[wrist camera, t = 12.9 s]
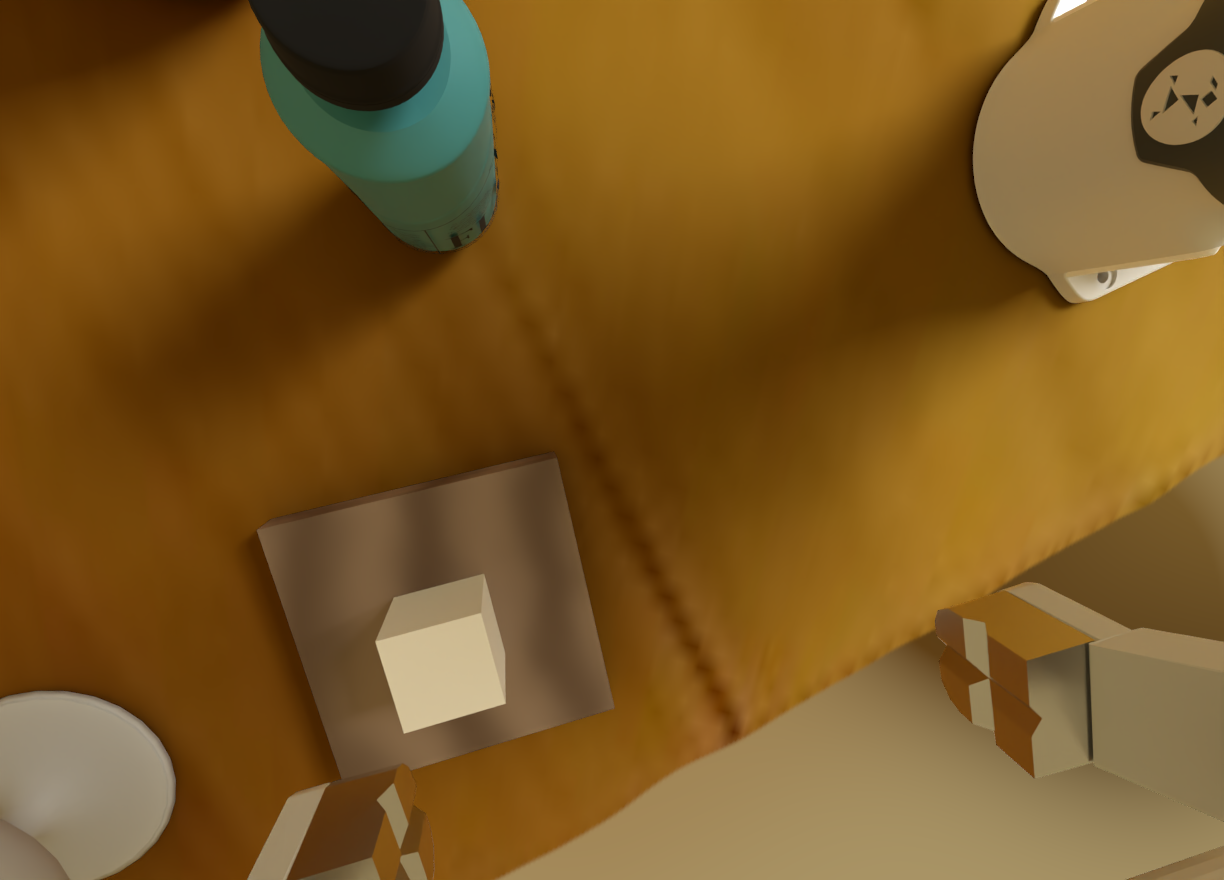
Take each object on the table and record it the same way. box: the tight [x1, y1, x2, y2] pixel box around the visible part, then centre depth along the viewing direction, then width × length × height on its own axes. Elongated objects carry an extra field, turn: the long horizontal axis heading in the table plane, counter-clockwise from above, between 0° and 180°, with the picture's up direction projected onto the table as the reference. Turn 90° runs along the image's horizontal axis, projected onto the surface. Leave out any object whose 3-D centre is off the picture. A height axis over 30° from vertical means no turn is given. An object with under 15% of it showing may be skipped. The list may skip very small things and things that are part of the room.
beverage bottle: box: [248, 0, 499, 254], centre depth 22 cm, size 6×7×20 cm
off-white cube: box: [375, 574, 506, 734], centre depth 31 cm, size 5×5×5 cm
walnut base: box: [257, 451, 615, 779], centre depth 35 cm, size 16×16×2 cm
